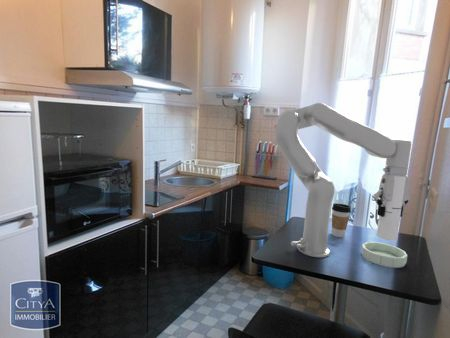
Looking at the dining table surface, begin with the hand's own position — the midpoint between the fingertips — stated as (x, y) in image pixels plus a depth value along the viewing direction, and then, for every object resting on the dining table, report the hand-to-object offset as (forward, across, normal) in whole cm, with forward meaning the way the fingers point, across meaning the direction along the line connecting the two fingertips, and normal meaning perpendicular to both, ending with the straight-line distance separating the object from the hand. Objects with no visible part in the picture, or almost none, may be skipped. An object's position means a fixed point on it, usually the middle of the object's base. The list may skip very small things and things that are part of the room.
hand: (389, 215), depth 118 cm
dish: (+18, 0, 0) cm, 18 cm away
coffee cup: (+18, -4, +26) cm, 32 cm away
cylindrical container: (+9, 0, 0) cm, 9 cm away
